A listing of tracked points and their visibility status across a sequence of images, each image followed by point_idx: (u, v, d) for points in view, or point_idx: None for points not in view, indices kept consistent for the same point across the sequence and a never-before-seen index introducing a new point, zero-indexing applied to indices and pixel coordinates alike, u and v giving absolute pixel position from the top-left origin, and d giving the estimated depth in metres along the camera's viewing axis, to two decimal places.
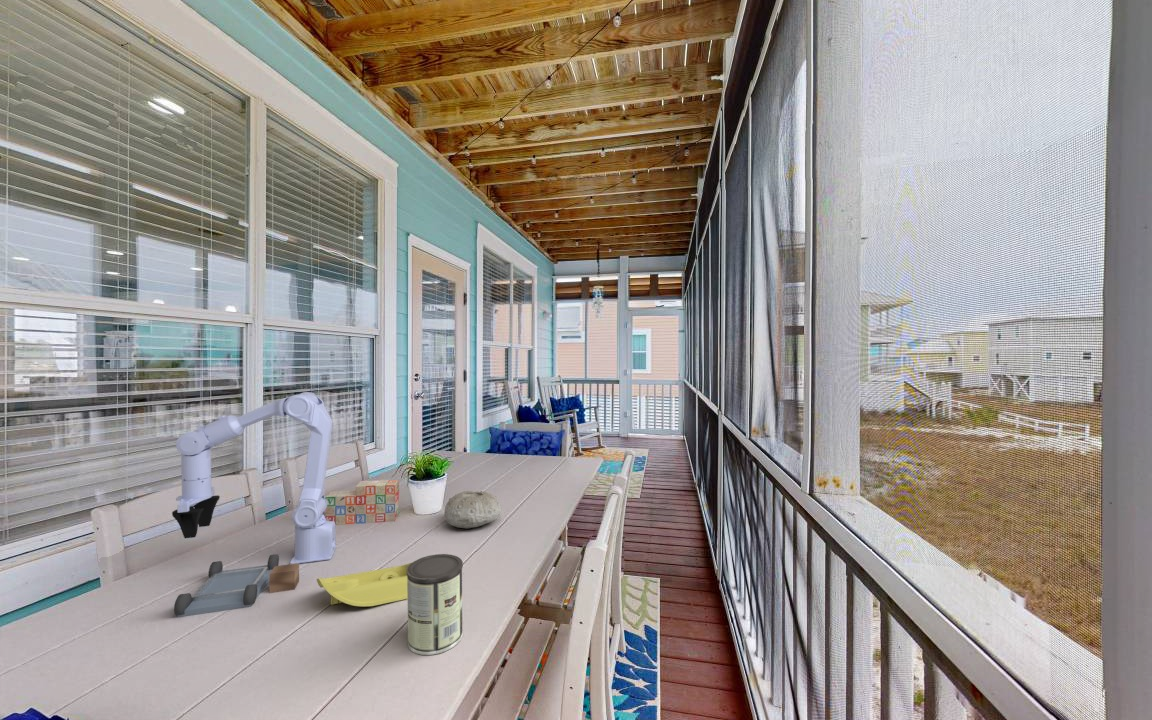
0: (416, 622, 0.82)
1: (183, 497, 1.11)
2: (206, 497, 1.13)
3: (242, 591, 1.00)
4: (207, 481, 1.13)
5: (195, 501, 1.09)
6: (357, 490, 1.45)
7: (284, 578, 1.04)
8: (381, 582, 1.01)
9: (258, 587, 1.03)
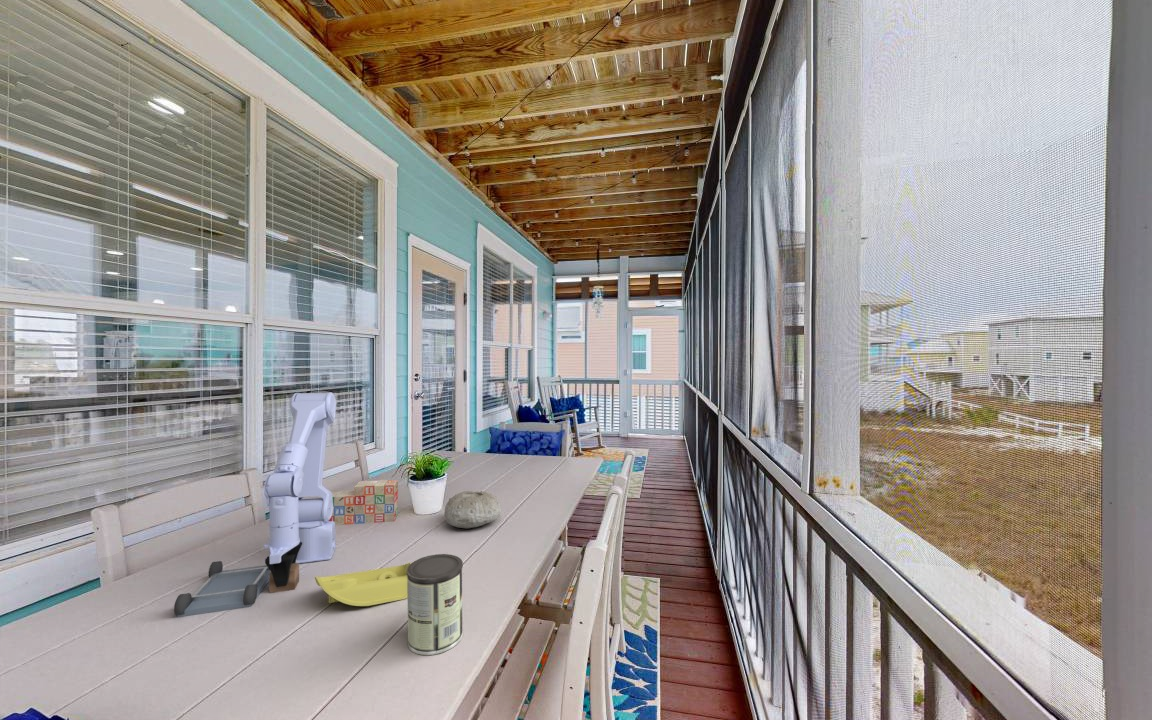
0: (416, 622, 0.82)
1: (272, 545, 1.03)
2: (295, 544, 1.04)
3: (242, 591, 1.00)
4: (296, 527, 1.05)
5: (286, 550, 1.01)
6: (356, 490, 1.45)
7: None
8: (378, 582, 1.01)
9: (258, 587, 1.03)
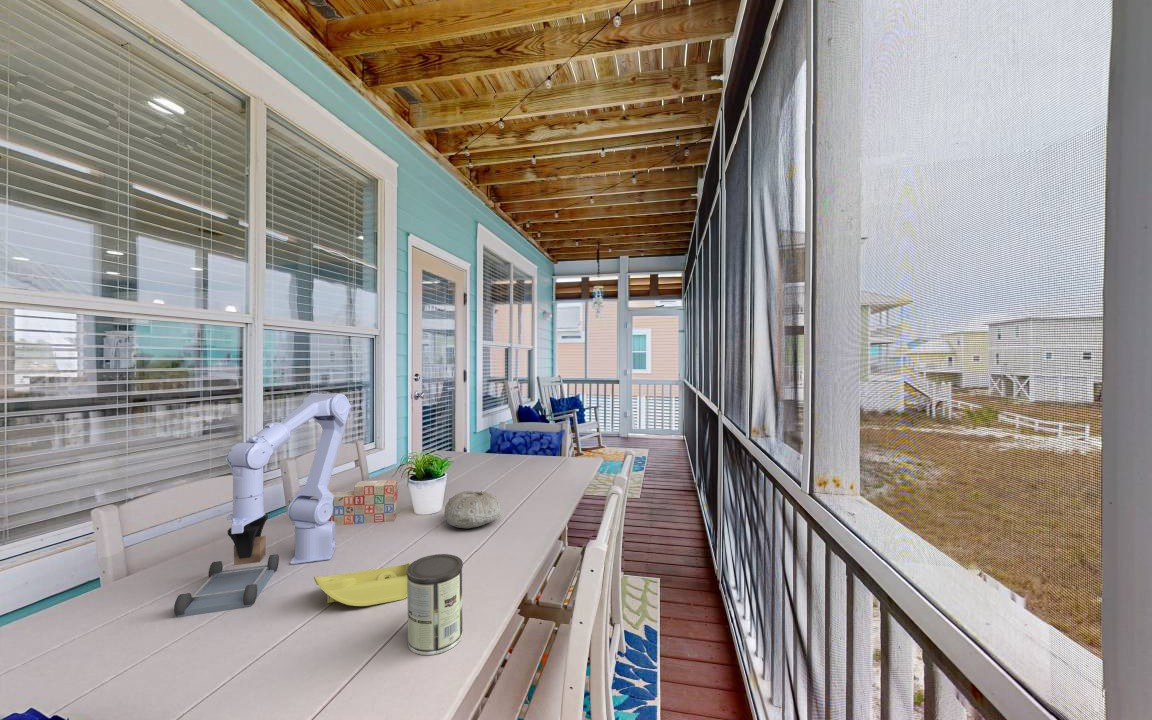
0: (416, 622, 0.82)
1: (235, 516, 1.01)
2: (259, 516, 1.03)
3: (242, 591, 1.00)
4: (260, 498, 1.04)
5: (249, 521, 1.00)
6: (356, 490, 1.45)
7: None
8: (377, 582, 1.01)
9: (258, 587, 1.03)
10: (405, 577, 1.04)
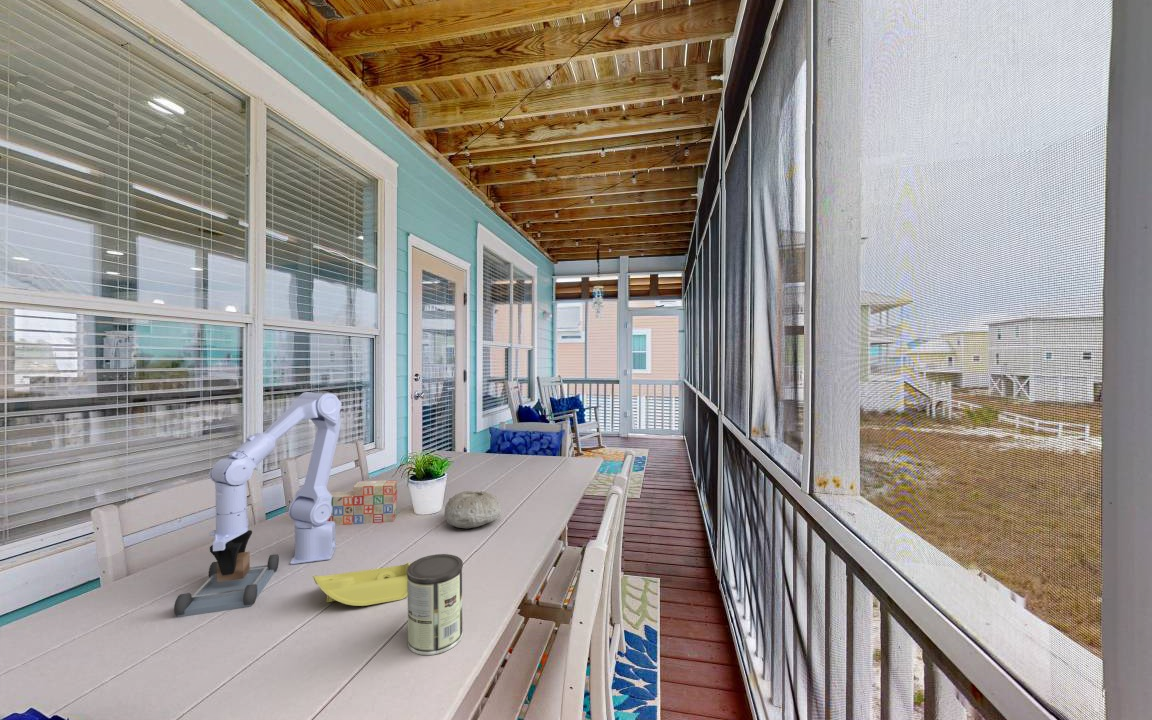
0: (416, 622, 0.82)
1: (217, 532, 1.01)
2: (242, 532, 1.03)
3: (242, 591, 1.00)
4: (243, 514, 1.03)
5: (231, 537, 1.00)
6: (355, 490, 1.44)
7: None
8: (376, 582, 1.01)
9: (258, 587, 1.03)
10: (404, 577, 1.04)
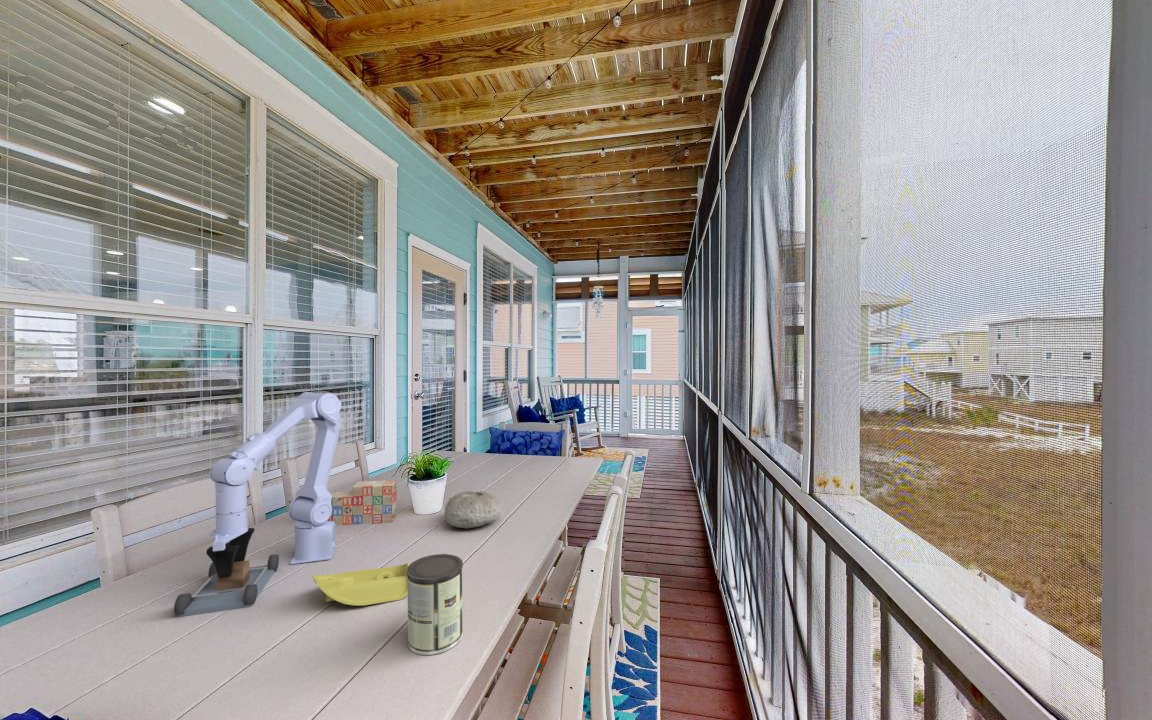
0: (416, 622, 0.82)
1: (217, 532, 1.01)
2: (242, 532, 1.03)
3: (242, 591, 1.00)
4: (243, 514, 1.03)
5: (231, 537, 1.00)
6: (354, 491, 1.44)
7: (232, 575, 1.02)
8: (375, 582, 1.01)
9: (258, 587, 1.03)
10: (403, 577, 1.04)
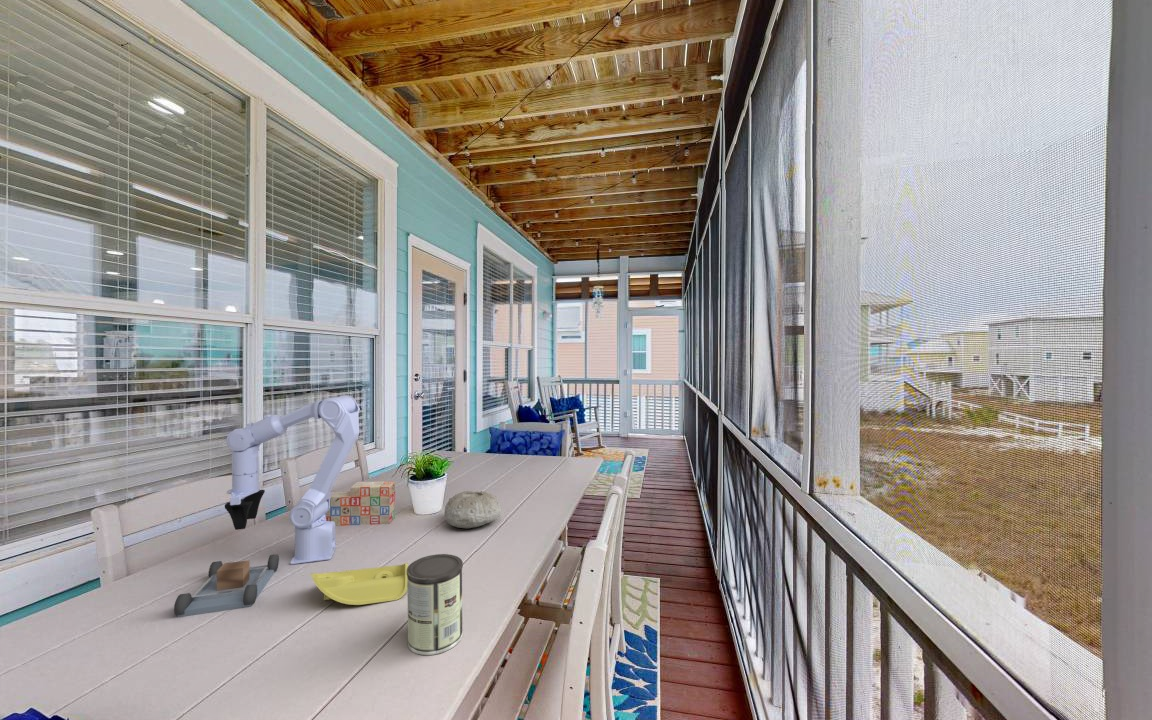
0: (416, 622, 0.82)
1: (233, 491, 1.17)
2: (254, 491, 1.19)
3: (242, 591, 1.00)
4: (255, 476, 1.19)
5: (245, 494, 1.16)
6: (352, 491, 1.43)
7: (232, 575, 1.02)
8: (372, 581, 1.01)
9: (258, 587, 1.03)
10: (401, 577, 1.03)
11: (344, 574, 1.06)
